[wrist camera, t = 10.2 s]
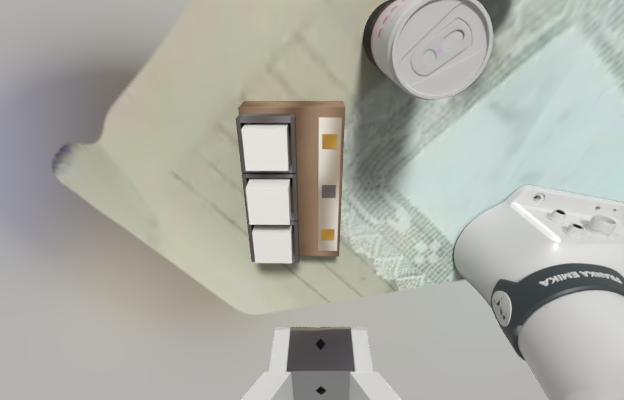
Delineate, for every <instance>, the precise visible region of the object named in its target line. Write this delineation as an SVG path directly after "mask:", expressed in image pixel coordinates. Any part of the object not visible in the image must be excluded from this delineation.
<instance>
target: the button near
mask: <svg viewBox="0 0 624 400" xmlns="http://www.w3.org/2000/svg"><path fill="white" fill-rule="evenodd" d="M241 131H242V140H243V150H244V159H245V169H246V171H288V170H289V165H290V145H289V123H245V124H244V126H243V127H242V129H241Z"/></svg>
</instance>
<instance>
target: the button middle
mask: <svg viewBox="0 0 624 400" xmlns="http://www.w3.org/2000/svg"><path fill="white" fill-rule="evenodd" d="M246 197H247V206H248V215H249V225H290V219H291V190H290V178H250V179H249V182H248V184H247V186H246Z"/></svg>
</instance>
